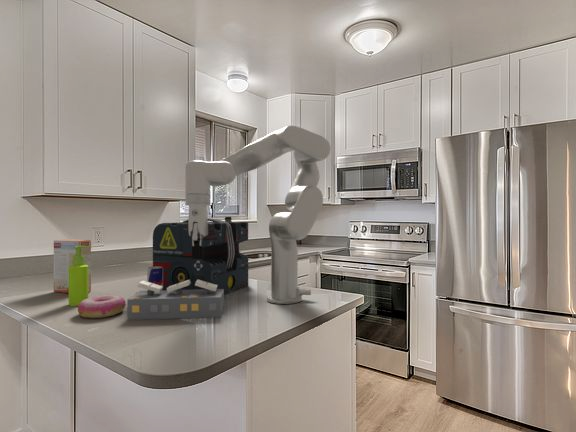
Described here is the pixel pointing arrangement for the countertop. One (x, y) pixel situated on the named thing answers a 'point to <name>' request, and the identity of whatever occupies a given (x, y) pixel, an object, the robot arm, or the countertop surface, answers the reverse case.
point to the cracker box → (69, 262)
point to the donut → (101, 306)
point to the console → (175, 304)
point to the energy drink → (155, 275)
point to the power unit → (216, 255)
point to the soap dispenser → (78, 278)
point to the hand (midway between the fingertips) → (197, 258)
